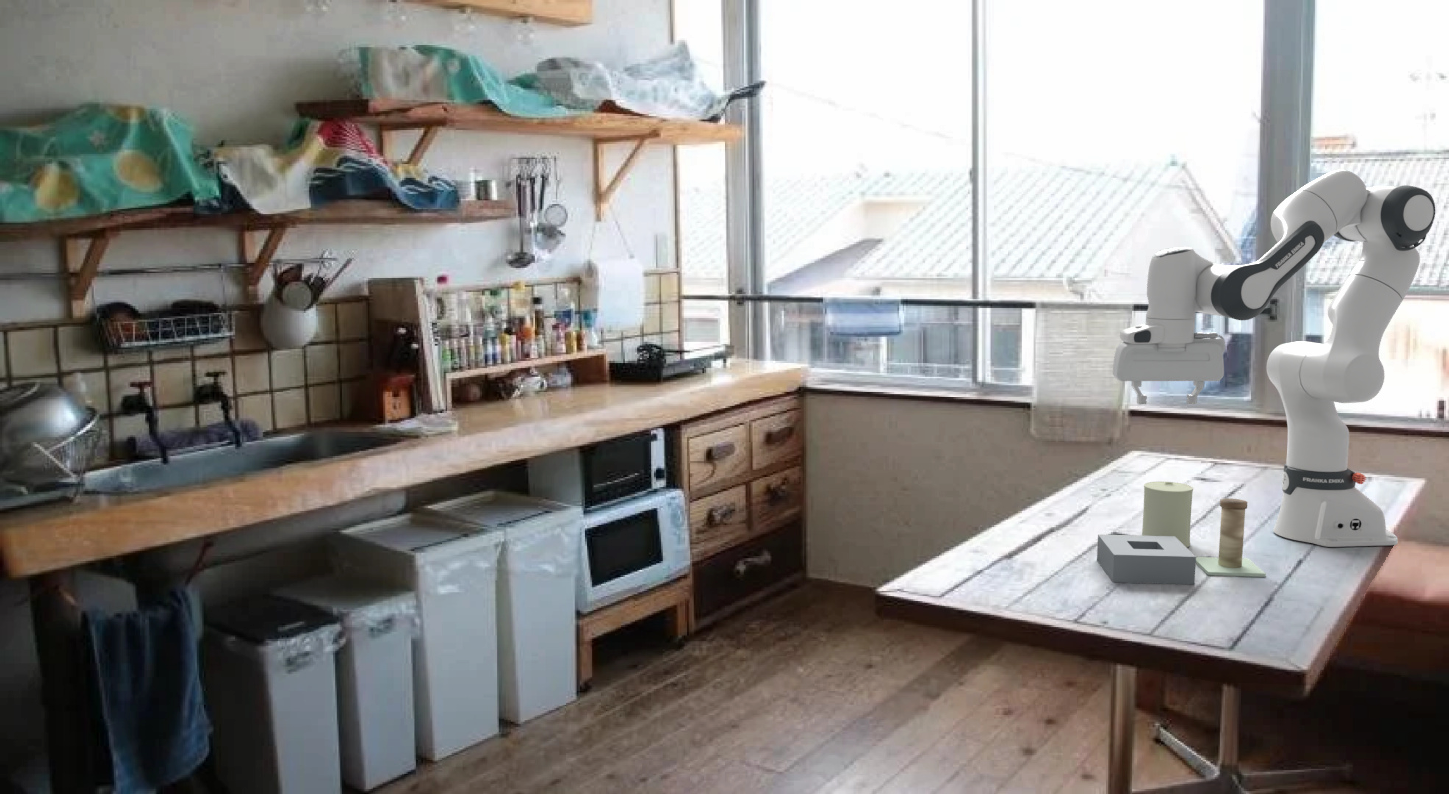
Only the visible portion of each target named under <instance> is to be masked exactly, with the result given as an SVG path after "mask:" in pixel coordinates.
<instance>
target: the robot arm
mask: <svg viewBox="0 0 1449 794" xmlns="http://www.w3.org/2000/svg"><path fill="white" fill-rule="evenodd" d="M1435 204H1436V203H1435V200H1434V198H1433V196H1432V194H1431V193H1430V192H1428V191H1427V190H1425V189H1423V188H1420V187H1417V186H1414V185H1407V184H1406V185H1405V184H1404V185H1400V186H1399V185H1376V186H1370V187H1369V186H1368V187H1366V184H1365V182H1364V181H1363V180H1362V179H1361V178H1360V177H1359V176H1358V175H1357V174H1356V173H1354V172H1352V171H1350V170H1346V169H1337V170H1333V171H1330V172H1328V173H1325V174H1324V175H1322V176H1320V177H1318V178H1315V179H1313V180H1312V181H1310V182H1309V183H1306V184H1305V185H1304V186H1302V187H1300V188H1299V189H1298V190H1297V191H1295V192H1294V193H1293V194H1291V195H1289V196H1288V197H1287V198H1285V199H1284V200H1283V201H1282V202H1281V203H1280V204H1279V205H1278V206H1277V207H1276V209H1275V210H1274V211H1273V212H1272V213H1271V218H1270V230H1271V233H1272V235H1273V237H1274V239H1275V241H1276V242H1277V243H1276V244H1274V246H1273V247H1271V249H1269V250H1268V251H1267V252H1266V253H1264V255H1263V256H1261V258H1259V259H1258V260H1256V261H1254V262H1252V263H1249V264H1248V263H1247V264H1242V265H1241V264H1240V265H1239V264H1238V265H1232V264H1231V265H1228V264H1217V263H1216V262H1212V261H1211V260H1208V259H1206V258H1204V257H1202V256H1201V255H1199V254H1198V253H1197V252H1196V251H1195V249H1194V248H1193V247H1189V246H1177V247H1169V248H1164V249H1161V250H1158V251H1157V252H1155V253H1154V254H1153V256H1152V258H1151V259H1150V262H1149V267H1148V271H1147V272H1148V274H1147V280H1146V281H1147V284H1146V285H1147V286H1146V297H1147V300H1148V306H1147V310H1146V314H1145V322H1144V323H1140V324H1137V325H1134V326H1131V327H1127V328H1124V329H1122V330H1121V331H1120V334H1119V337H1120V340H1121V341H1122V342H1120V343H1119V344H1118V345H1117V347H1116V349H1115V351H1114V358H1113V364H1112V376H1113V377H1114V378H1115V379H1116V380H1117V381H1118V382H1130V383H1131V384H1130V385H1131V387H1132V390H1133V391H1134V393H1135V394H1136V404H1137V405H1147V403H1148V401H1147V399H1148V396H1147V394H1145V393H1144V394H1142V391H1141V390H1140V387H1142V382H1193V383H1192V384H1193V386H1195V387H1194V389H1193V390H1192V391H1191V393H1190V394H1189V393H1188V394H1186V398H1187V399H1186V404H1187V405H1197V404H1198V396H1199V395H1200V393H1201V391H1203V389H1204V387H1205V382H1219V381H1221V380H1222V378H1223V377H1224V375H1225V365H1224V363H1225V362H1224V355H1223V354H1224V352H1225V349H1226V341H1225V338H1224V337H1223V336H1222V335H1220V334H1218V332H1195V325H1196V321H1195V320H1196V313H1200V314H1205V315H1211V316H1219V317H1225V318H1229V319H1234V320H1237V321H1249V320H1252V319H1255V318H1256V317H1257V316H1259V315H1260V314H1261V313H1262V312H1263V311H1264V310H1265V309H1266V308H1267V306H1268V305H1269V303H1270V302H1271V300H1272V298H1273V297H1274V296H1275V294H1276V293H1277V292H1278V291H1279V289H1280V288H1281V287H1282V286H1284V284H1285V283H1287V282H1288V281H1289V280H1290V279H1291V278H1292V277H1293V276H1294V275H1295V274H1296V273H1298V272H1299V271H1300V270H1301V269H1302V268H1303V267H1304V266H1305V265H1306V264H1307V263H1309V261H1311V260H1312V259H1313V258H1314V257H1315V256H1316V255H1317V254H1318V252H1319V251H1320V250H1321V248H1322V247H1323V244H1324V243H1325V242H1326V241H1328V240H1330V238H1332V237H1333V236H1334V237H1335V238H1338V239H1339V240H1342V241H1346V242H1349V243H1350V242H1351V243H1353V242H1354V243H1355V242H1359V243H1360V242H1361V243H1362V251H1361V255H1360V257H1359V259H1358V261H1357V262H1356V263H1355V264H1354V266H1353V268H1351V270H1350V272H1349V273H1348V274H1347V277H1346V278H1345V279H1344V282H1343V283H1342V284H1341V286H1340V288H1339V289H1338V291H1337V293H1335V296H1334V297H1333V298H1332V301H1331V302H1330V304H1329V306H1328V309H1327V316H1328V319H1329V321H1330V322H1331V324H1332V330H1331V332H1330V335H1329V337H1328V339H1327V341H1326V342H1324V343H1322V342H1314V341H1306V340H1299V341H1292V342H1286V343H1285V342H1284V343H1281V344H1279V345H1278V346H1276V347H1275V348H1274V349H1273V350H1272V351H1271V352H1270V354H1269V356H1268V358H1267V361H1266V374H1267V377H1268V379H1269V380H1270V382H1271V383H1272V385H1273V386H1274V388H1276V390H1277V392H1278V394H1279V396H1280V400H1281V402H1282V405H1283V409H1284V412H1285V418H1286V424H1287V425H1286V426H1287V447H1286V448H1287V449H1286V462H1285V464H1283V472H1282V479H1281V486H1282V487H1281V488H1282V489H1281V490H1282V492H1283V494H1282V498H1281V503H1280V509H1279V512H1278V516H1277V519H1276V521H1275V524H1274V527H1273V529H1272V531H1273V533H1274V534H1276V535H1277V536H1280V537H1283V538H1286V539H1289V540H1294V541H1299V542H1305V543H1311V544H1315V545H1318V546H1322V547H1329V548H1331V547H1332V548H1333V547H1334V548H1335V547H1336V548H1338V547H1368V546H1369V547H1370V546H1371V547H1373V546H1379V547H1380V546H1396V545H1398V544H1399V543H1398V542H1399V540H1398V536H1397V535H1395V533H1393V532H1391V531H1390V530H1387V529H1386V528H1387V525H1386V518H1385V514H1384V511H1383V509H1382V508H1381V507H1380V506H1379V505H1377V503H1375V502H1374V501H1372V499H1370V498H1369V497H1368V496H1367V495H1365V494H1364V493H1363V492H1362V491H1360V490H1359V489H1358V488H1357V487H1356V484H1358V485H1362V484H1365V482H1366V480H1367V477H1366V476H1365V474H1364V473H1361V472H1355V471H1353V470H1352V469H1350V468H1348V462H1349V461H1348V460H1349V447H1350V430H1349V428H1348V426H1347V425H1346V423H1345V422H1344V421H1343V420H1342V419H1341V417H1340V416H1339V414H1338V411H1337V409H1336V406H1335V403H1339V404H1340V403H1341V404H1355V403H1365V402H1368V401H1371V400H1372V399H1374V398H1376V396H1377V395H1378V394H1379V393H1380V392H1381V390H1382V387H1383V385H1384V382H1385V369H1384V365H1383V363H1382V362H1381V360H1380V355H1379V354H1380V347H1381V342H1382V339H1383V336H1384V333H1385V331H1386V329H1387V327H1388V326H1389V325H1390V322H1391V320H1392V319H1393V317H1394V315H1395V314H1396V312H1397V311H1398V309H1399V307H1400V306H1401V303H1402V302H1403V300H1404V299H1405V297H1406V295H1407V294H1408V291H1409V289H1410V288H1411V286H1412V283H1413V281H1414V280H1415V279H1414V278H1415V277H1416V274H1417V271H1418V269H1419V266H1420V263H1421V257H1420V253H1419V251H1418V249H1417V248H1418V247H1419V246H1420V245H1422V243H1424V241H1425V240H1426V239H1427V235H1428V233H1429V232H1430V230H1431V228H1432V226H1433V224H1434V221H1435V218H1436V217H1435V216H1436V205H1435Z"/></svg>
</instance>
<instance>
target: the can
mask: <svg viewBox="0 0 1449 794" xmlns="http://www.w3.org/2000/svg"><path fill="white" fill-rule="evenodd" d="M1143 489H1144V490H1143V493H1144V494H1143V512H1142V513H1143V514H1142V531H1141V536H1175V537H1176V538H1177V539H1178V540H1179V541H1180V542H1181V543H1182V544H1183V545H1184V546H1185V547H1186V548H1187V549H1188V548H1189V547H1190V546H1191V523H1192V521H1191V519H1192V507H1193V505H1192V503H1193V491H1194V487H1193V486H1191V485H1190V484H1189V485H1188V484H1185V483H1181V482H1175V481H1150V482H1146V483H1144V485H1143Z"/></svg>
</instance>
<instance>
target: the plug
mask: <svg viewBox="0 0 1449 794" xmlns="http://www.w3.org/2000/svg"><path fill="white" fill-rule="evenodd" d="M1219 506H1220V508H1221V513H1220V527H1219V528H1220V529H1219V530H1220V531H1219V547H1218V558H1219V560H1218V565H1220V566H1222V567H1227V568H1240V567H1242V558H1243V549H1244V538H1245V537H1244V536H1245V523H1246V522H1245V520H1246V519H1245V518H1246V509H1248V501H1247V500H1245V499H1241V498H1230V497H1228V498H1221V499H1220V501H1219Z"/></svg>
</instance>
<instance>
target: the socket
mask: <svg viewBox="0 0 1449 794" xmlns="http://www.w3.org/2000/svg"><path fill="white" fill-rule="evenodd" d="M1096 549H1097V550H1096V561H1097V562H1098V564H1099V565H1100V567H1101V568H1102V570H1103V571H1104V572H1105V573H1106V575H1107V577H1109V579H1110V580H1111V582H1112V583H1125V584H1126V583H1130V584H1131V583H1132V584H1134V583H1136V584H1161V585H1162V584H1166V585H1168V584H1169V585H1195V584H1196V583H1195V582H1196V565H1197V564H1196V557H1197V556H1196V555H1195V554H1193V553H1192V551H1191V550H1190V549H1188V547H1187V548H1186V547H1185V546H1184V545H1183V544H1182V543H1181V542H1180V541H1179V540H1178V539H1177V538H1176V537H1175V536H1142V535H1135V534H1134V535H1131V534H1097V548H1096Z"/></svg>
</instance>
